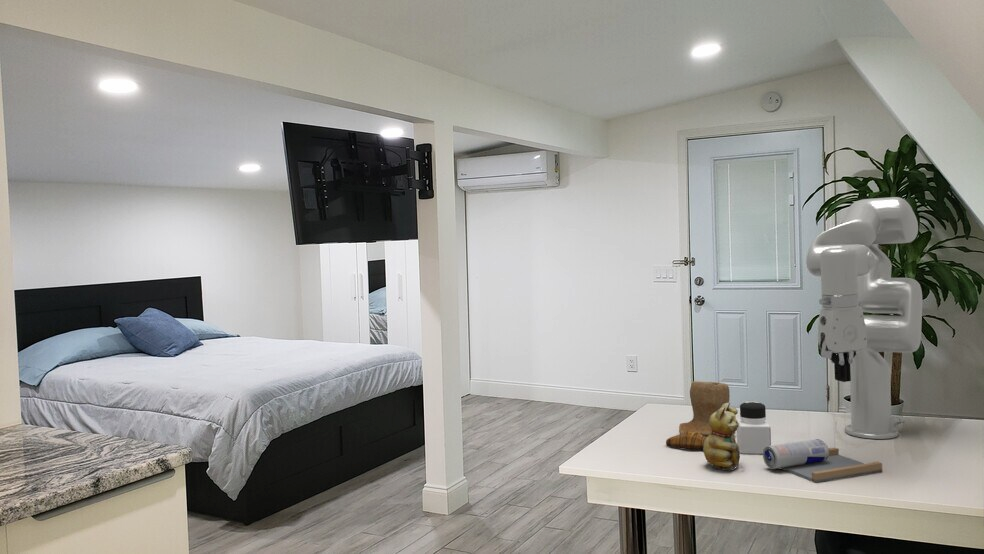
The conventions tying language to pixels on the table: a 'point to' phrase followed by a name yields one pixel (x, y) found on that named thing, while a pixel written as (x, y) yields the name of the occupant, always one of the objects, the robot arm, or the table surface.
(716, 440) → the decorative figurine
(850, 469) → the rail mat
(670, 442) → the croissant
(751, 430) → the medicine bottle
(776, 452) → the beverage can
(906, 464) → the table surface
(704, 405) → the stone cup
